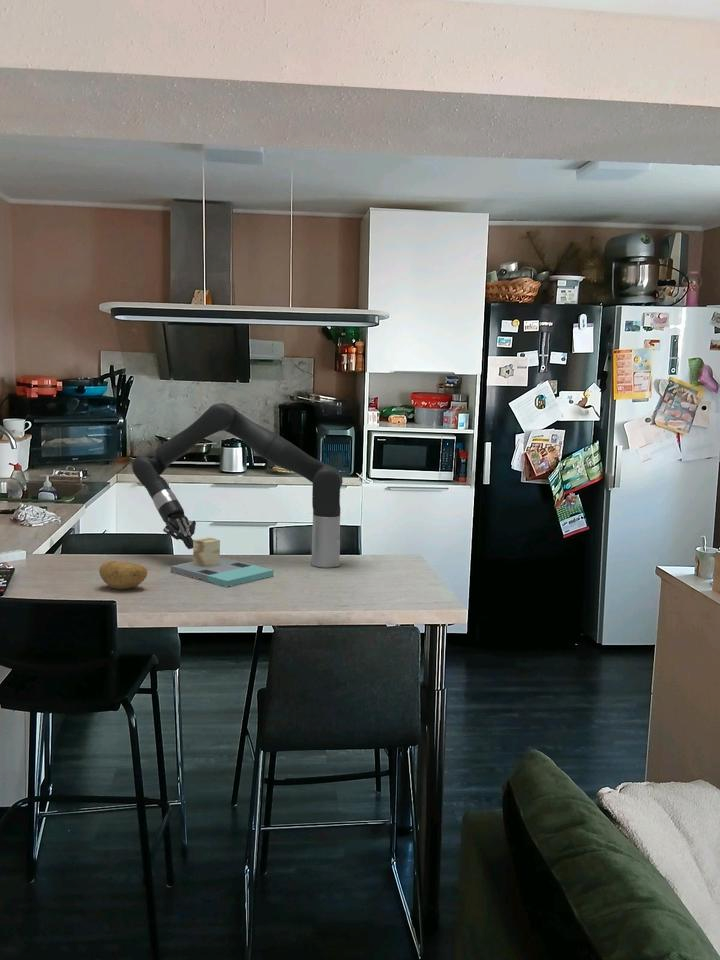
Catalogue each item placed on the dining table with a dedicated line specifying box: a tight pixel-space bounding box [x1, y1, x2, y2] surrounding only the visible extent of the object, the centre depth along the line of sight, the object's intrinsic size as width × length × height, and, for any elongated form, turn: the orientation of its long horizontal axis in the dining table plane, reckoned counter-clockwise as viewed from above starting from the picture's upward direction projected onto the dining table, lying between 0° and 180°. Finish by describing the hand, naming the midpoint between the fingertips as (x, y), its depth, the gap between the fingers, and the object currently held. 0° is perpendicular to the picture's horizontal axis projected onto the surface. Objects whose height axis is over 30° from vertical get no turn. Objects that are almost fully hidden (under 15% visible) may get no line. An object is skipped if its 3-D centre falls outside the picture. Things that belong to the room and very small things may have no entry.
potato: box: [98, 560, 148, 590], centre depth 256 cm, size 10×14×8 cm
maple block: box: [192, 536, 221, 567], centre depth 281 cm, size 6×6×8 cm
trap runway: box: [170, 556, 275, 588], centre depth 277 cm, size 26×20×2 cm
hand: (191, 547), depth 285 cm, fingers closed
